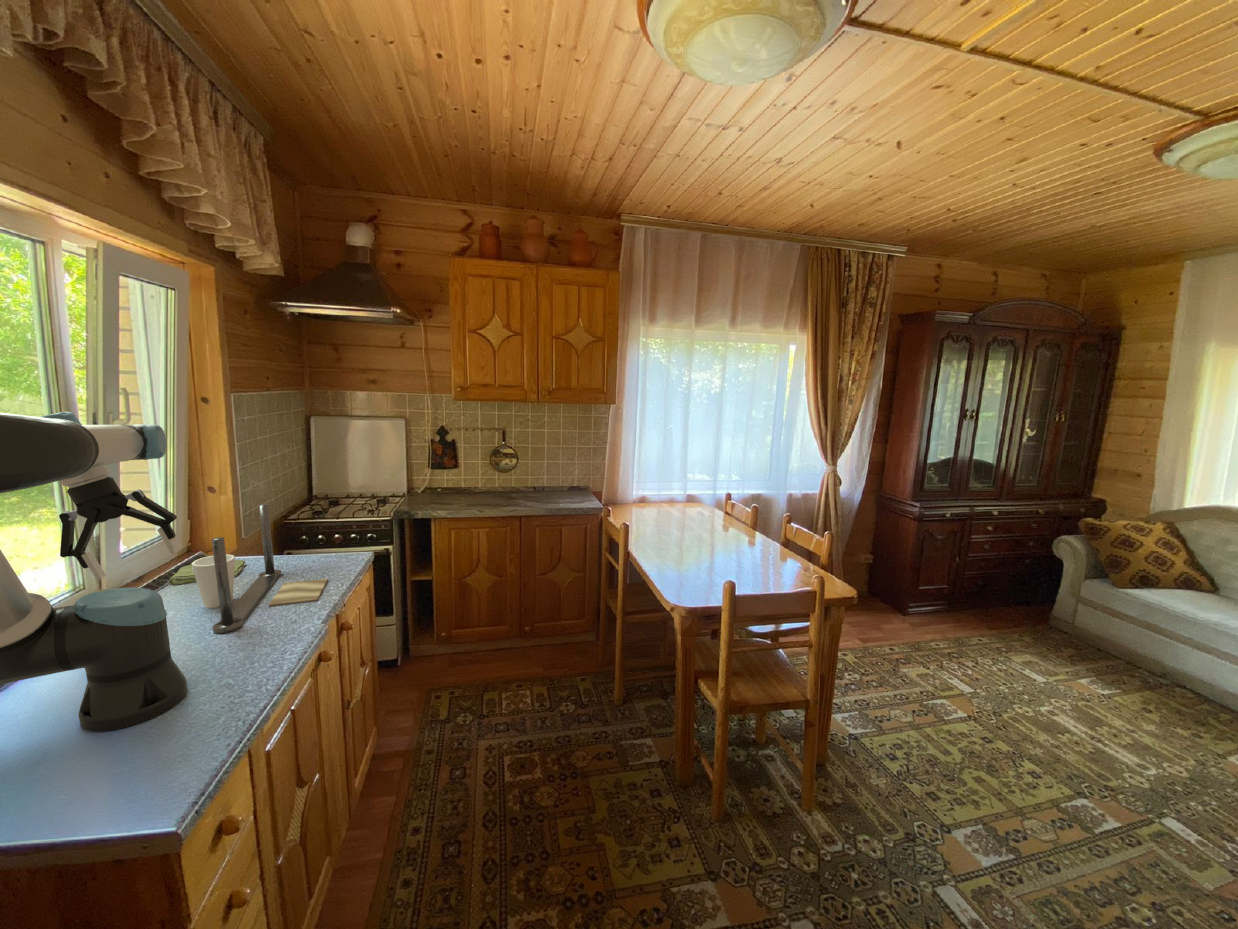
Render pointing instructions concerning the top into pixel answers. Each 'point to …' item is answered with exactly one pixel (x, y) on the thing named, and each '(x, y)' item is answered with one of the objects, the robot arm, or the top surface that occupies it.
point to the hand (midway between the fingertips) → (139, 564)
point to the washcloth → (188, 576)
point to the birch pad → (299, 592)
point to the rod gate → (243, 607)
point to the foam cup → (211, 579)
